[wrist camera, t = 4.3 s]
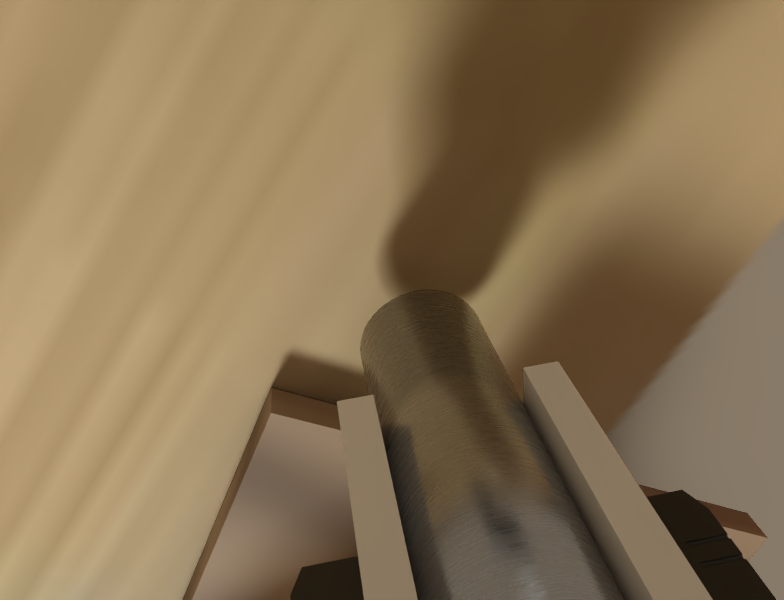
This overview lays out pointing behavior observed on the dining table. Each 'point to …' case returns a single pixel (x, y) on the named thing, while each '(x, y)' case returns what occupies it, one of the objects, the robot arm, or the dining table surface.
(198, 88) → the dining table surface
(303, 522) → the board
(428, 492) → the pin
